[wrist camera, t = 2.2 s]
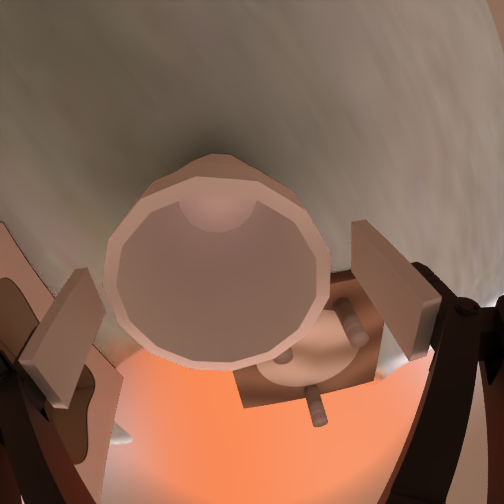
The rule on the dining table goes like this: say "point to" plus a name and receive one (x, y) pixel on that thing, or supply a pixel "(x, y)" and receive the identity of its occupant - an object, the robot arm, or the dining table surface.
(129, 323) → the foam cup
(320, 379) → the pin board
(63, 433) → the gable box
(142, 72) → the dining table surface
